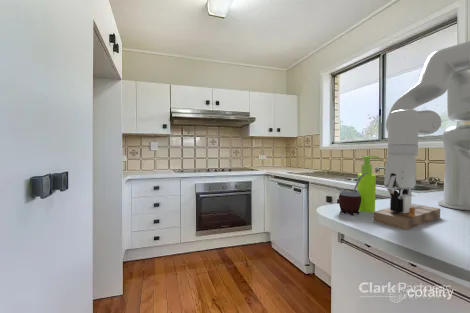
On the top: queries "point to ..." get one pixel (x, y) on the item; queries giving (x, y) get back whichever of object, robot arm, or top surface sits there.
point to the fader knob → (405, 203)
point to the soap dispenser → (367, 186)
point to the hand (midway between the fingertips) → (400, 209)
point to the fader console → (407, 216)
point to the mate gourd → (350, 200)
